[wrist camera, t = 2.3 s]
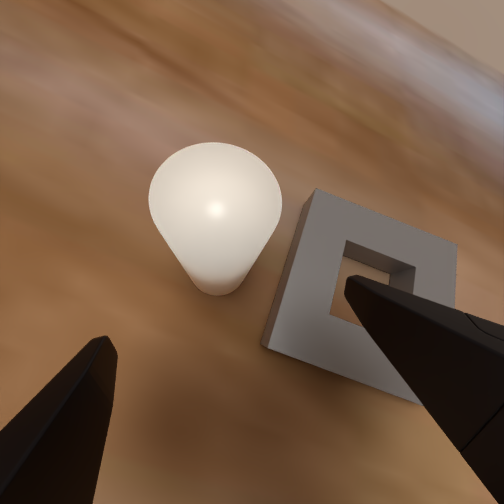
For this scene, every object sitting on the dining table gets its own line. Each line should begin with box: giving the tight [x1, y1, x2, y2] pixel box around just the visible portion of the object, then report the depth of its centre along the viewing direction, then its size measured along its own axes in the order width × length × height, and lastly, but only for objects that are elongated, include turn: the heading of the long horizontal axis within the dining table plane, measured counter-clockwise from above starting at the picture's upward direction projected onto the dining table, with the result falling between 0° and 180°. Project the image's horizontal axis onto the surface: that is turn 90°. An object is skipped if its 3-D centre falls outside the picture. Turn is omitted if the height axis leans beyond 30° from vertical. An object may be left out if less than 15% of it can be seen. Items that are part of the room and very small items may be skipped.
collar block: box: [260, 188, 457, 406], centre depth 20 cm, size 14×14×3 cm
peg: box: [149, 142, 282, 296], centre depth 14 cm, size 5×5×12 cm
